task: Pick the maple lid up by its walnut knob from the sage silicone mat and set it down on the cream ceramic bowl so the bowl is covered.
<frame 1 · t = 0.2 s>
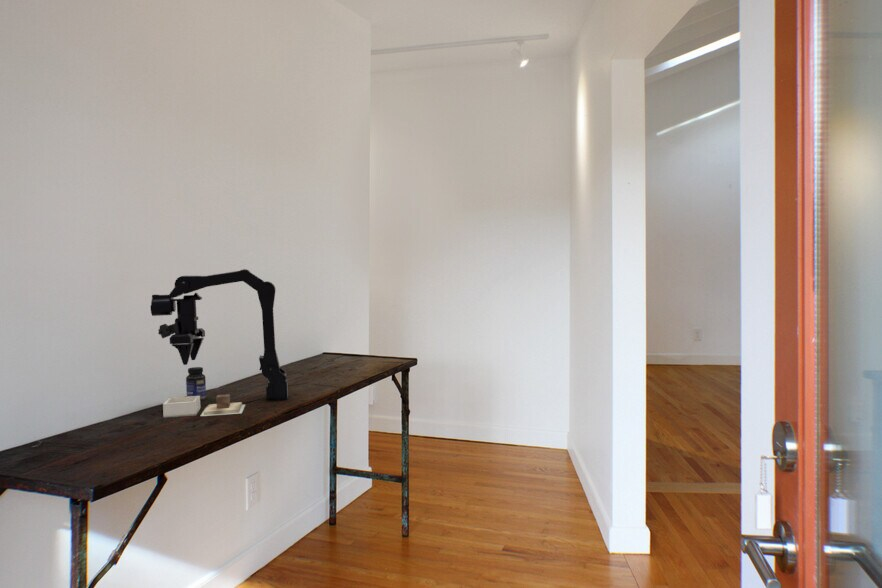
hand: (189, 362, 199), 14 cm above the table, fingers open, 9 cm apart
pill bottle: (196, 401, 208), on the table
lid: (223, 410, 191), resting on mat
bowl: (182, 414, 189), on the table
mat: (223, 411, 191), on the table
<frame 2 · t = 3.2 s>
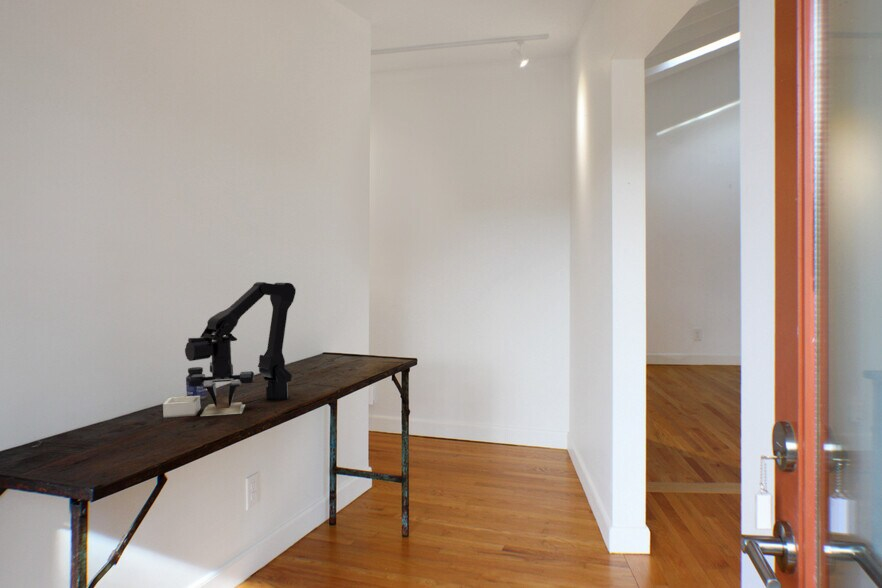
hand: (223, 406, 191), 2 cm above the table, fingers closed on lid, 3 cm apart
lid: (223, 410, 191), resting on mat, touching gripper
everything else where it was.
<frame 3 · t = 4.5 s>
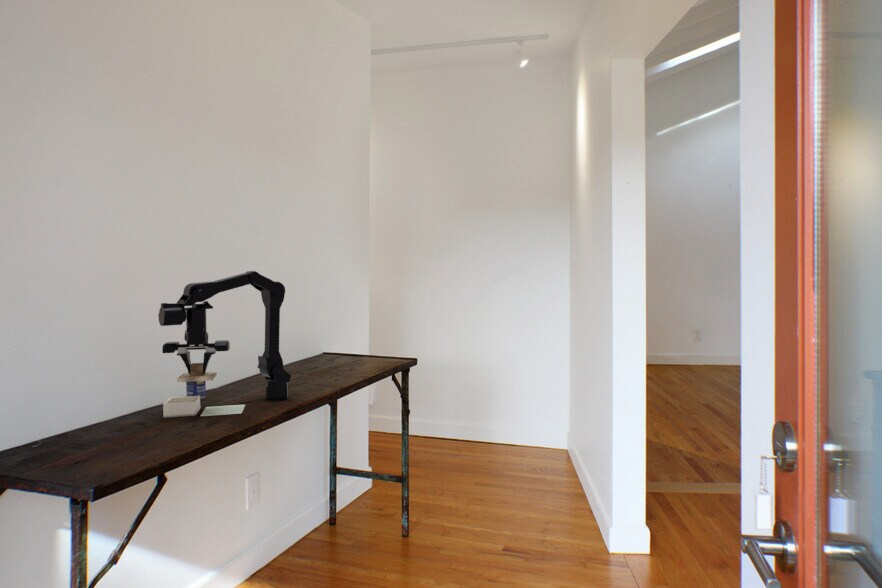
hand: (197, 374, 189), 12 cm above the table, fingers closed on lid, 3 cm apart
lid: (197, 378, 189), point 11 cm above the table, touching gripper
everything else where it was.
when the fingers open (7 cm above the table, at t = 6.3 s): lid drops 1 cm, resting on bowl.
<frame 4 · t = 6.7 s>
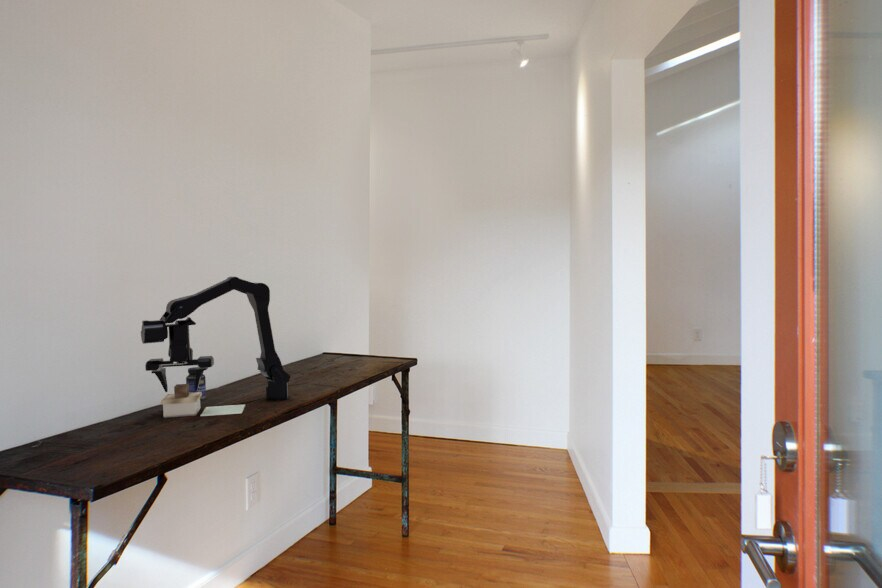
hand: (181, 391, 188), 7 cm above the table, fingers open, 8 cm apart
lid: (182, 399, 188), point 4 cm above the table, touching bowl
everything else where it was.
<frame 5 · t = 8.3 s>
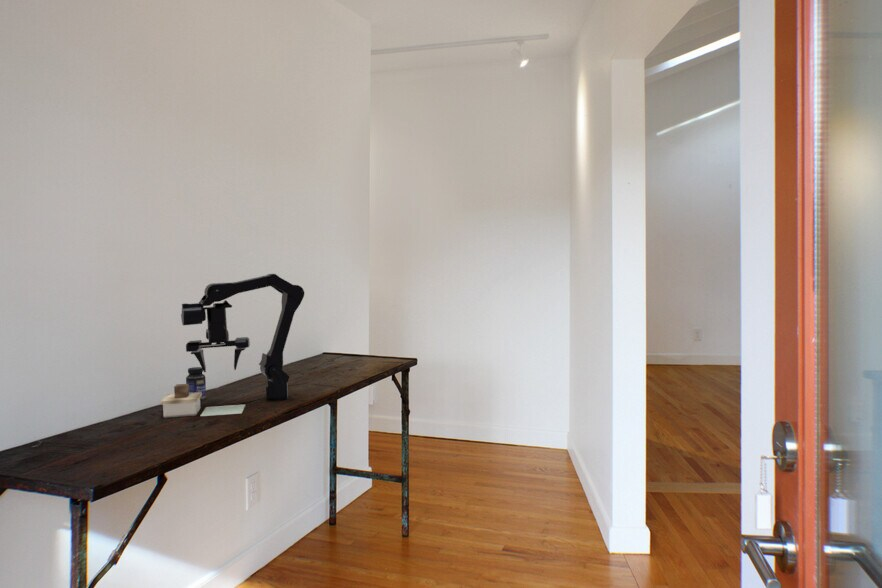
hand: (220, 370, 197), 12 cm above the table, fingers open, 9 cm apart
nothing on the table moved.
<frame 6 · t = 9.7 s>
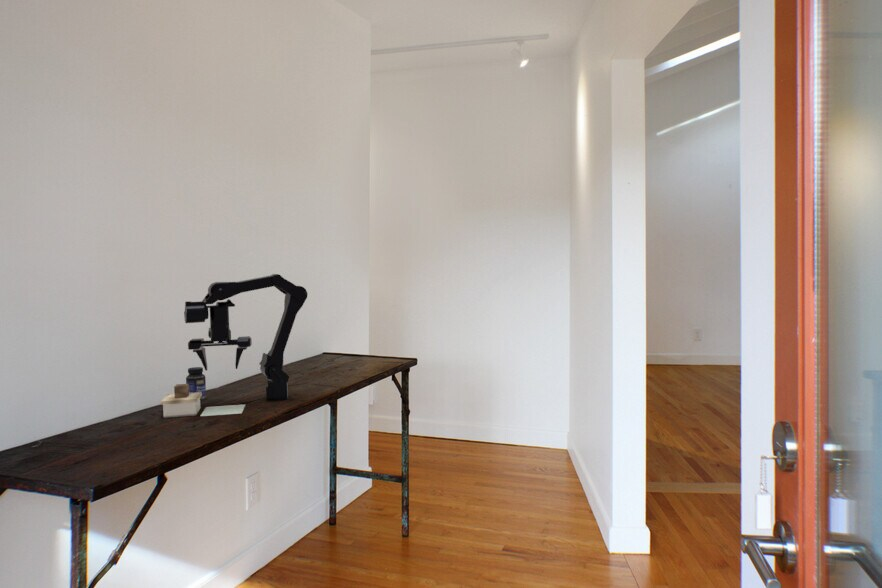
hand: (221, 369, 197), 12 cm above the table, fingers open, 9 cm apart
nothing on the table moved.
at the end: lid 0.1 cm off-centre on the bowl, point 4.5 cm above the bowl's base; lid tilted 0°; the gripper is holding nothing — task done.
